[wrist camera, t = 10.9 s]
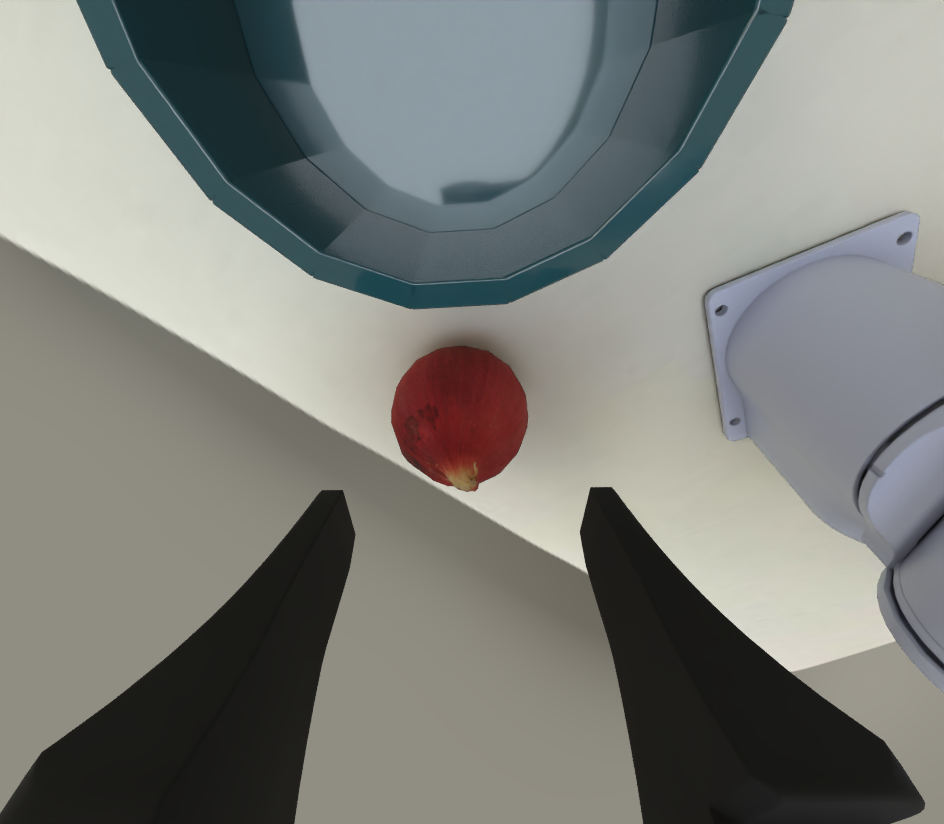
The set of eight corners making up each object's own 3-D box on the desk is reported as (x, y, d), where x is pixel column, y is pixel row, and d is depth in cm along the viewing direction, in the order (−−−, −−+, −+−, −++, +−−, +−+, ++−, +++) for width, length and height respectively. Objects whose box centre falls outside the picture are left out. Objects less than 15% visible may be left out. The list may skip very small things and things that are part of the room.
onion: (419, 422, 23) (399, 546, 16) (389, 328, 19) (349, 437, 13) (524, 407, 22) (546, 529, 16) (511, 307, 19) (533, 410, 12)
